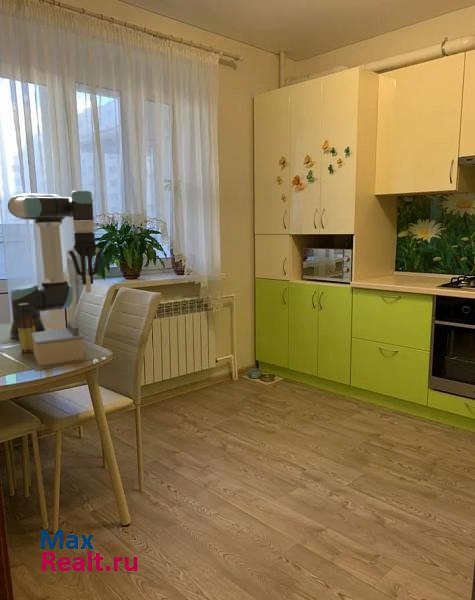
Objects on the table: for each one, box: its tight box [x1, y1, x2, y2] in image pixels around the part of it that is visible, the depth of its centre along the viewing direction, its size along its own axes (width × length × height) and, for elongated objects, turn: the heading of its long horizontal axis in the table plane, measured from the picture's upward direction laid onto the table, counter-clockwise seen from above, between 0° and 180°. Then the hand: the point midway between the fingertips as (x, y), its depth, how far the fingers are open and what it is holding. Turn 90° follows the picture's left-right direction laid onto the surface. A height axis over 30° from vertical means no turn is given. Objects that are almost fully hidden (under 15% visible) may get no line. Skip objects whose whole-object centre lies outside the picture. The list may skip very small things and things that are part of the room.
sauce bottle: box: [18, 303, 35, 354], centre depth 190 cm, size 7×6×20 cm
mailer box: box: [32, 338, 85, 367], centre depth 182 cm, size 16×16×8 cm
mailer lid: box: [31, 321, 85, 344], centre depth 181 cm, size 17×17×4 cm
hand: (88, 292), depth 185 cm, fingers closed
